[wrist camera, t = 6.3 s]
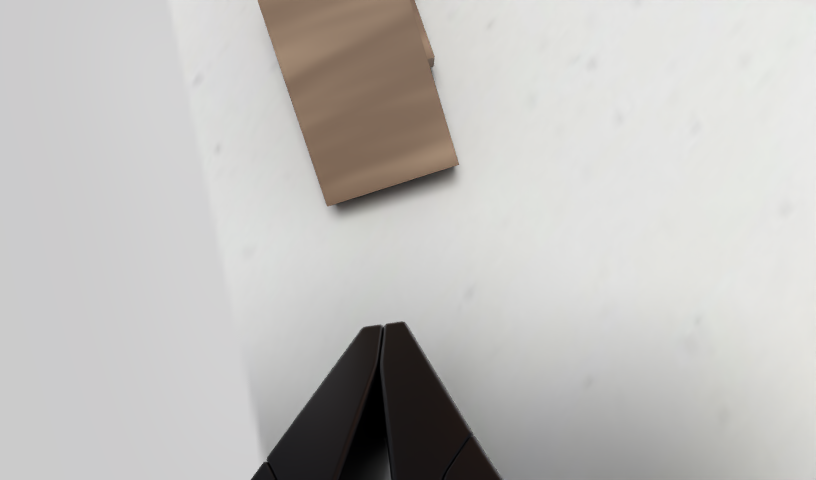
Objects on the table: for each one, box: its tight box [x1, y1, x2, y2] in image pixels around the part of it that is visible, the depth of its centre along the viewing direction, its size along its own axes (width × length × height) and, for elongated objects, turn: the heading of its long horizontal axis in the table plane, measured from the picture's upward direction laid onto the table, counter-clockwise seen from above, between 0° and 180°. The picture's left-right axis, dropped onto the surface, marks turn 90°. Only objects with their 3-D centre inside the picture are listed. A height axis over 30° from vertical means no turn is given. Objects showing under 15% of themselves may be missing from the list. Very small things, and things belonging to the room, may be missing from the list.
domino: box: [258, 0, 459, 206], centre depth 17 cm, size 2×5×10 cm
